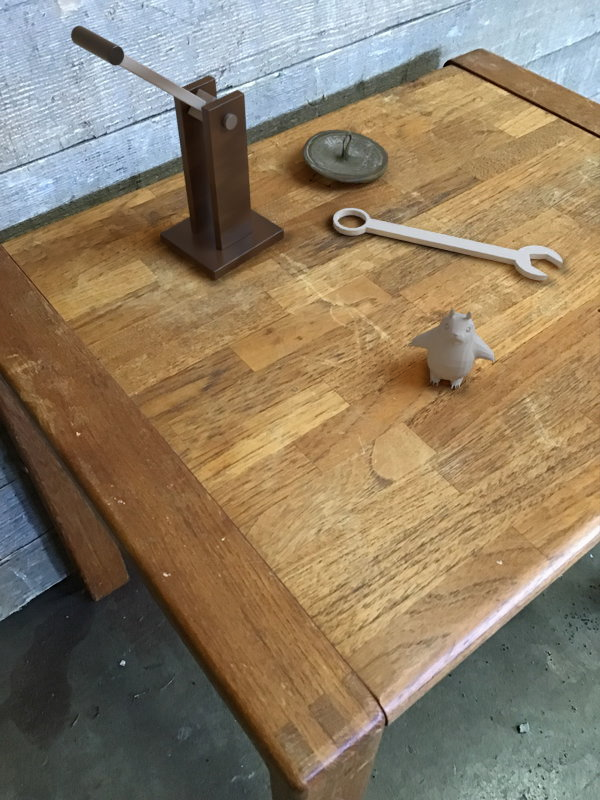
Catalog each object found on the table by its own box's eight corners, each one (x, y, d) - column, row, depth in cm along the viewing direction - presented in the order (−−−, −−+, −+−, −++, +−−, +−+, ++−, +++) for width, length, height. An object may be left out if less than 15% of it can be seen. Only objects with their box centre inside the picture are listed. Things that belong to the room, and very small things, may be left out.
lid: (298, 159, 93) (289, 126, 89) (372, 130, 93) (366, 96, 89) (323, 210, 87) (314, 177, 83) (402, 180, 87) (396, 145, 83)
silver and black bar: (103, 67, 55) (116, 36, 55) (65, 45, 58) (77, 15, 57) (231, 137, 69) (242, 113, 69) (196, 118, 71) (207, 94, 71)
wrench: (557, 284, 76) (563, 256, 78) (559, 279, 75) (565, 251, 78) (326, 232, 81) (340, 207, 84) (327, 227, 80) (340, 202, 83)
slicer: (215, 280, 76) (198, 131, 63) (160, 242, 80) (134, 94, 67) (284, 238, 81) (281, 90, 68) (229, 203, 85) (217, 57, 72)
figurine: (399, 383, 67) (409, 321, 61) (409, 338, 71) (420, 276, 65) (488, 400, 66) (507, 338, 60) (493, 353, 69) (512, 291, 63)
